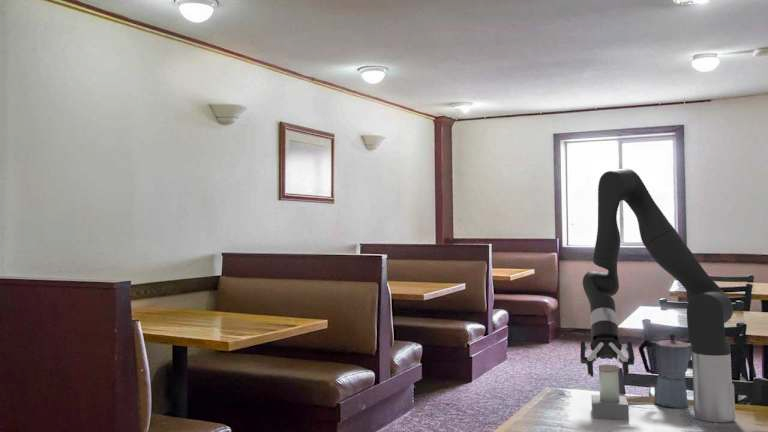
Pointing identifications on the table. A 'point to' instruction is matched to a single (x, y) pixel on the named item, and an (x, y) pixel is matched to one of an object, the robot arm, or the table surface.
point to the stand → (610, 408)
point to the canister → (609, 383)
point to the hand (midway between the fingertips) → (608, 375)
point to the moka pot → (669, 370)
